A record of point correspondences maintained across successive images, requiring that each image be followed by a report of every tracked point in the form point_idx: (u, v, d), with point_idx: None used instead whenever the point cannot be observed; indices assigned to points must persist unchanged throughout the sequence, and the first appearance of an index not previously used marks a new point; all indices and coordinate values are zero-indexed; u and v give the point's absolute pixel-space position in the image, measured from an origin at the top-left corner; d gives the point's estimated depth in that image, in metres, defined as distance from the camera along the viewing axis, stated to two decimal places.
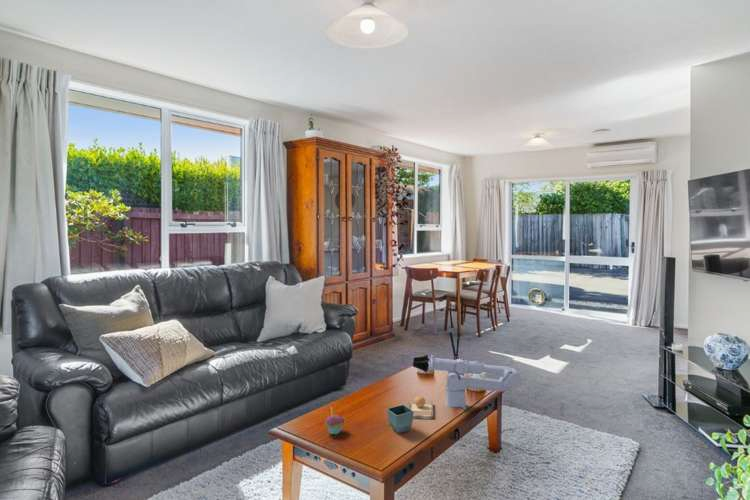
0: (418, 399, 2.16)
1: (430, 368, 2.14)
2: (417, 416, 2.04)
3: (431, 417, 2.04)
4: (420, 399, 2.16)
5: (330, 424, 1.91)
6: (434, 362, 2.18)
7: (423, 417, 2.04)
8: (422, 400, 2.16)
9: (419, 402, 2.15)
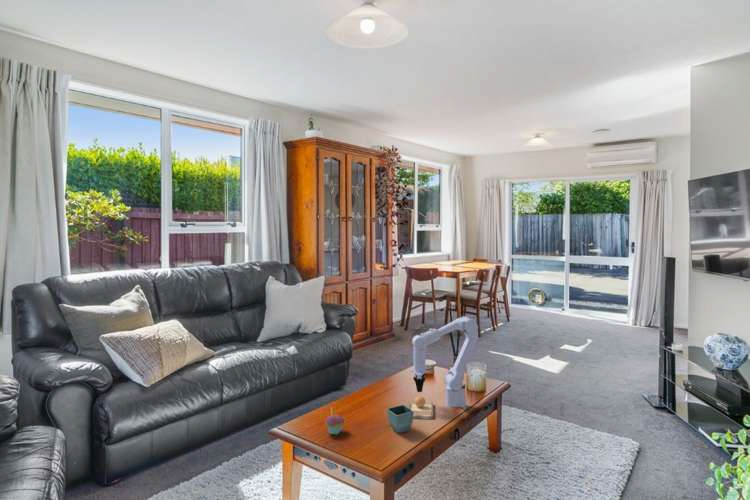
0: (418, 399, 2.16)
1: (419, 376, 2.10)
2: (417, 416, 2.04)
3: (431, 417, 2.04)
4: (420, 399, 2.16)
5: (330, 424, 1.91)
6: (416, 369, 2.15)
7: (423, 417, 2.04)
8: (422, 400, 2.16)
9: (419, 402, 2.15)
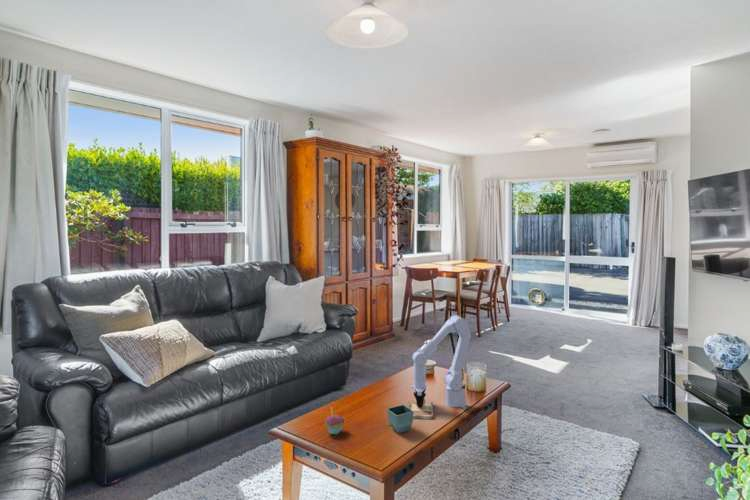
0: None
1: (419, 393, 2.10)
2: (417, 416, 2.04)
3: (431, 417, 2.04)
4: None
5: (330, 424, 1.91)
6: (416, 385, 2.15)
7: (423, 417, 2.04)
8: None
9: None
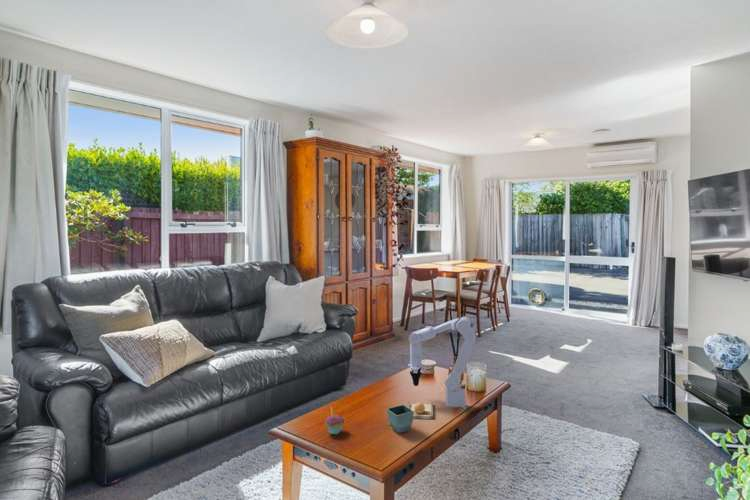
0: None
1: (415, 371, 2.18)
2: (417, 416, 2.04)
3: (431, 417, 2.04)
4: (419, 402, 2.12)
5: (330, 424, 1.91)
6: (412, 364, 2.23)
7: (423, 417, 2.04)
8: (421, 403, 2.11)
9: (418, 404, 2.10)
